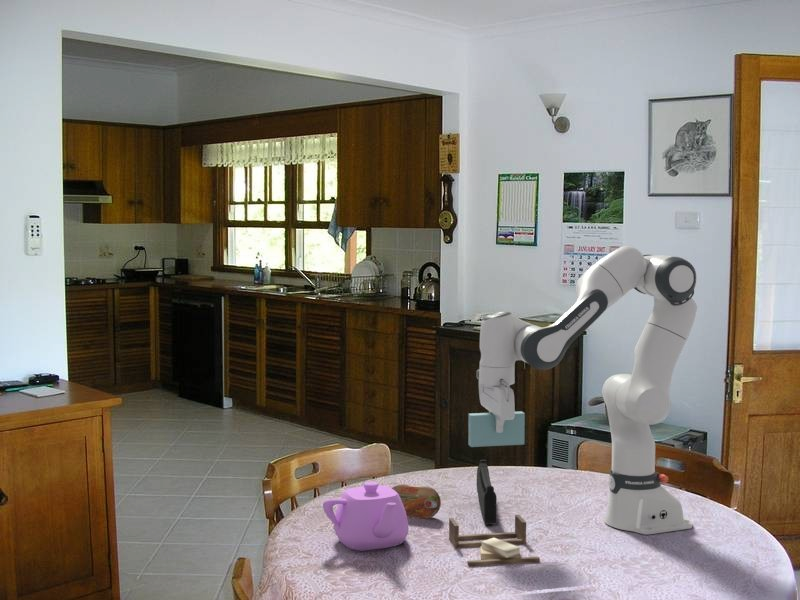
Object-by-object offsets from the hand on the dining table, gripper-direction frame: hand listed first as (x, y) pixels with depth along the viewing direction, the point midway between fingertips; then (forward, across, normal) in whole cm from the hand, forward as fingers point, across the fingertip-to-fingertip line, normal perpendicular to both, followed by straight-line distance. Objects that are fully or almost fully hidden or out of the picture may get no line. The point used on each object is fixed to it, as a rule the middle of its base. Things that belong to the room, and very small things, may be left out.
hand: (496, 430), depth 224 cm
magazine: (+27, +19, -2) cm, 33 cm away
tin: (+27, +17, +18) cm, 37 cm away
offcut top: (+25, -17, +4) cm, 30 cm away
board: (+4, 0, 0) cm, 4 cm away
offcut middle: (+26, -17, +4) cm, 32 cm away
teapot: (+27, -2, +32) cm, 42 cm away
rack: (+27, -12, +4) cm, 30 cm away
